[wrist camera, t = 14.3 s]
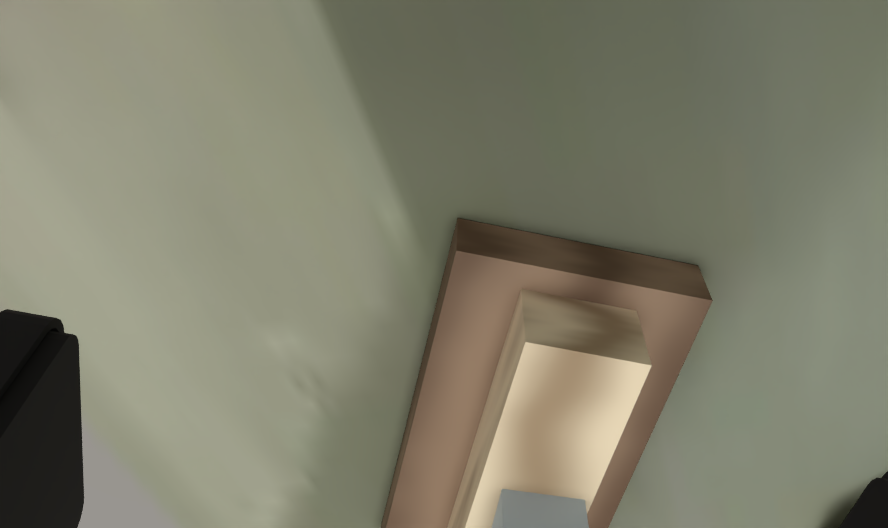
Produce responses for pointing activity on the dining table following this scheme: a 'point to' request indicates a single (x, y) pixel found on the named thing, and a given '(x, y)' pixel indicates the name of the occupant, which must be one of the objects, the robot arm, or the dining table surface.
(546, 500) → the block
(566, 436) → the beige rectangular bar
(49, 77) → the dining table surface
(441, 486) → the dock
